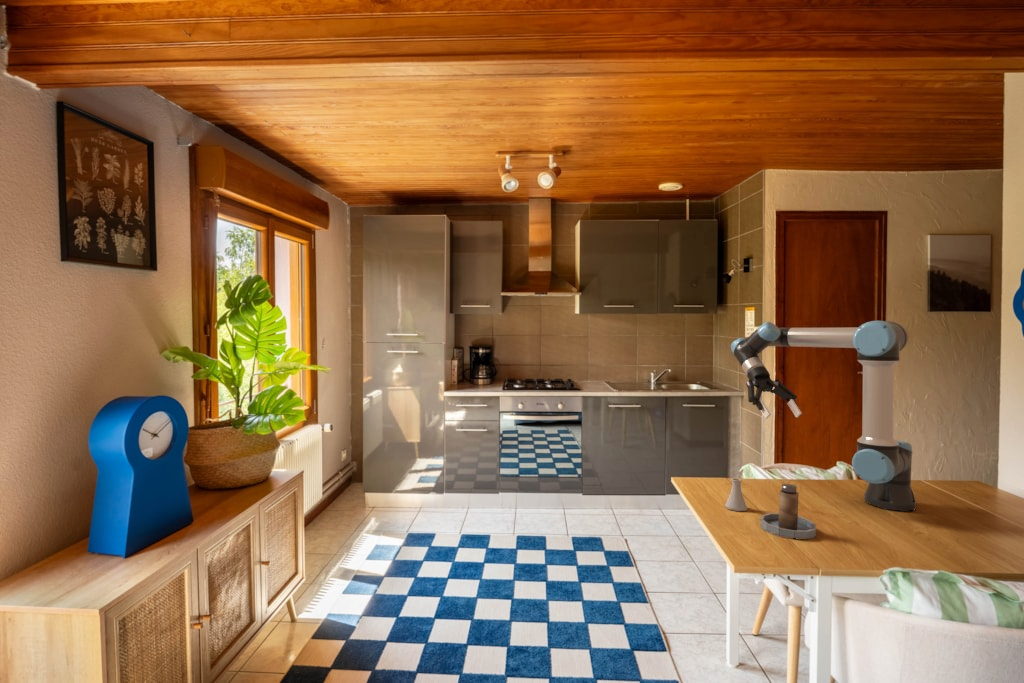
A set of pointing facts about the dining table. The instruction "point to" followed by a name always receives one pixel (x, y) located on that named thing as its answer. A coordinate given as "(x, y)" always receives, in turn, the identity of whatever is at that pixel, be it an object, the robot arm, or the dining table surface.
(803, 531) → the round grey tray
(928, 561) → the dining table surface
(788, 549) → the dining table surface
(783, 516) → the pepper mill
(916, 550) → the dining table surface
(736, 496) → the flask
